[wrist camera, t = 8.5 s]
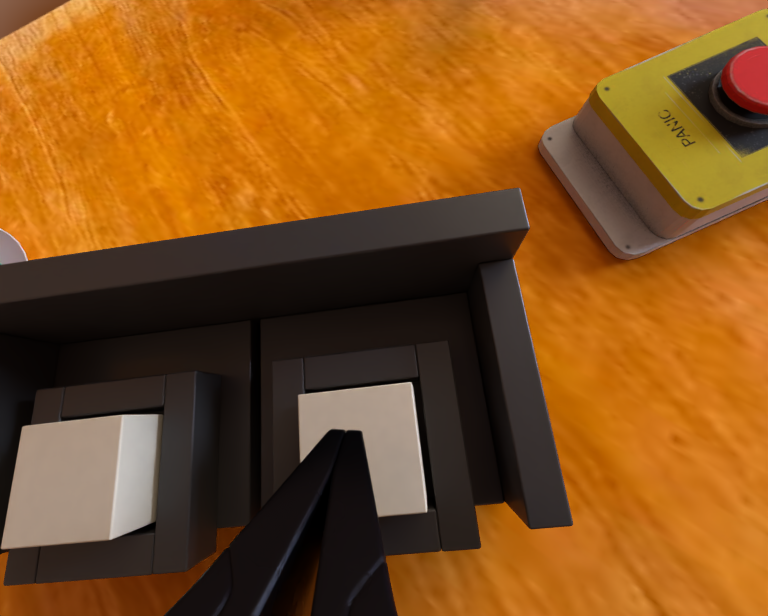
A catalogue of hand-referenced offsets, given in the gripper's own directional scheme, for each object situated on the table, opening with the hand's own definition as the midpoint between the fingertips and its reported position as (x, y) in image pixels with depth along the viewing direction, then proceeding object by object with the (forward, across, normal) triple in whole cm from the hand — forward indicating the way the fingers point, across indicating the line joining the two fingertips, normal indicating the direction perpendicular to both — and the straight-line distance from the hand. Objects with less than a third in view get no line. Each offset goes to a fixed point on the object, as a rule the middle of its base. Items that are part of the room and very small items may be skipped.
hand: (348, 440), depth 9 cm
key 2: (+1, +9, +4) cm, 10 cm away
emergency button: (+19, -17, -4) cm, 26 cm away
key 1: (+2, 0, +3) cm, 3 cm away
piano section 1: (+8, 0, +6) cm, 10 cm away
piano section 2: (+7, +10, +7) cm, 14 cm away
